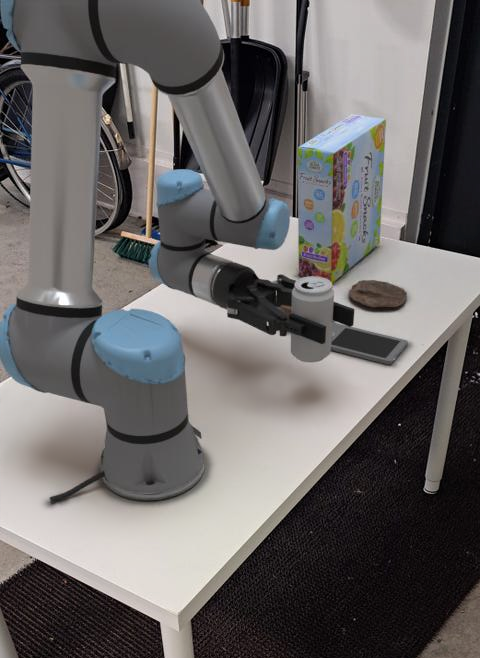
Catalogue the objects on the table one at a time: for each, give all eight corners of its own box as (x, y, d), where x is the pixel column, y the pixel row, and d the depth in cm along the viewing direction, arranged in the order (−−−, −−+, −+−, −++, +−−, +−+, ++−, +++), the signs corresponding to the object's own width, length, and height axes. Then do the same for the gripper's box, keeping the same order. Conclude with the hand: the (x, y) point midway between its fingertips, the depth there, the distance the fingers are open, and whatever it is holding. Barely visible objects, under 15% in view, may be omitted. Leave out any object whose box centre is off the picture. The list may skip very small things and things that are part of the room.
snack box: (344, 237, 187) (351, 111, 170) (380, 245, 183) (391, 118, 166) (294, 276, 174) (295, 144, 156) (331, 285, 170) (337, 151, 153)
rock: (406, 287, 169) (408, 274, 168) (406, 313, 160) (407, 300, 159) (350, 283, 171) (351, 271, 169) (346, 309, 162) (347, 296, 160)
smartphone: (408, 344, 152) (409, 340, 151) (390, 365, 146) (391, 361, 146) (332, 325, 158) (332, 321, 157) (312, 345, 152) (312, 341, 152)
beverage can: (284, 348, 138) (285, 278, 130) (322, 342, 139) (325, 271, 131) (298, 367, 133) (300, 295, 125) (336, 360, 134) (341, 289, 126)
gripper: (264, 285, 149) (373, 325, 137) (186, 326, 138) (297, 373, 126) (264, 243, 144) (377, 281, 132) (183, 282, 133) (299, 327, 121)
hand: (338, 326), depth 129 cm, fingers closed on beverage can, 6 cm apart
